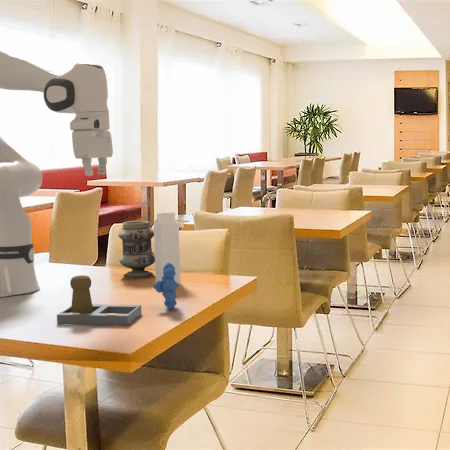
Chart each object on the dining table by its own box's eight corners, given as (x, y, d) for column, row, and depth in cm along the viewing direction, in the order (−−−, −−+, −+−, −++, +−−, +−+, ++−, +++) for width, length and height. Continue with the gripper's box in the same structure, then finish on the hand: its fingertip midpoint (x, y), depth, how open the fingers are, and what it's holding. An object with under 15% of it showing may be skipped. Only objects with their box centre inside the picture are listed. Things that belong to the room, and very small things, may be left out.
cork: (89, 322, 186) (87, 278, 185) (66, 321, 187) (64, 278, 186) (98, 316, 192) (96, 274, 191) (75, 315, 193) (73, 273, 192)
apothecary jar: (137, 271, 256) (135, 219, 254) (164, 274, 249) (162, 220, 247) (112, 277, 247) (109, 222, 244) (139, 280, 240) (137, 224, 237)
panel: (57, 324, 185) (56, 314, 184) (74, 313, 196) (74, 303, 196) (128, 325, 182) (127, 315, 181) (141, 314, 193) (141, 304, 193)
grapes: (154, 304, 205) (152, 260, 203) (178, 303, 205) (177, 259, 204) (154, 313, 193) (152, 267, 192) (180, 312, 194) (179, 266, 193)
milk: (155, 283, 235) (152, 212, 233) (173, 280, 238) (170, 211, 236) (162, 286, 230) (159, 214, 227) (181, 283, 233) (178, 212, 230)
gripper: (95, 125, 213) (98, 173, 214) (66, 123, 193) (70, 177, 194) (116, 124, 212) (119, 173, 213) (90, 122, 192) (93, 176, 193)
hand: (95, 175), depth 204 cm, fingers open, 8 cm apart
